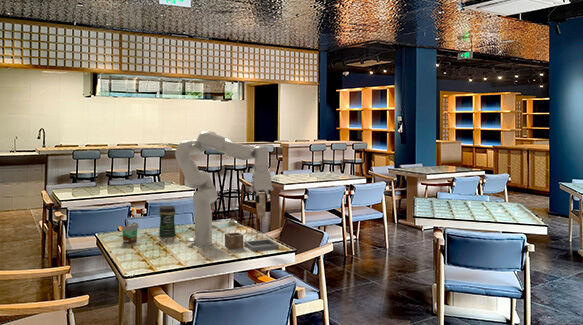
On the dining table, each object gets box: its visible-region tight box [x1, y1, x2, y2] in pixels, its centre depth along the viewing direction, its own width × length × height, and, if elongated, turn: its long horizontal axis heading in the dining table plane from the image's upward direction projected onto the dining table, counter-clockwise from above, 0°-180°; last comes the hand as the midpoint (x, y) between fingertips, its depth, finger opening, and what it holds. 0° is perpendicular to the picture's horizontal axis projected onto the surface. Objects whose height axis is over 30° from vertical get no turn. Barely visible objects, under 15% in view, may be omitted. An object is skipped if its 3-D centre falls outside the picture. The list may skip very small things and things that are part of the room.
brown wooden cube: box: [224, 232, 244, 251], centre depth 257 cm, size 8×8×8 cm
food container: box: [121, 222, 140, 244], centre depth 272 cm, size 12×6×10 cm, turn 168°
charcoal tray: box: [243, 238, 280, 252], centre depth 258 cm, size 15×14×3 cm
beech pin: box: [257, 191, 266, 220], centre depth 256 cm, size 4×4×14 cm
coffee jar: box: [158, 205, 176, 238], centre depth 286 cm, size 10×8×19 cm
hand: (261, 202), depth 256 cm, fingers closed on beech pin, 4 cm apart
